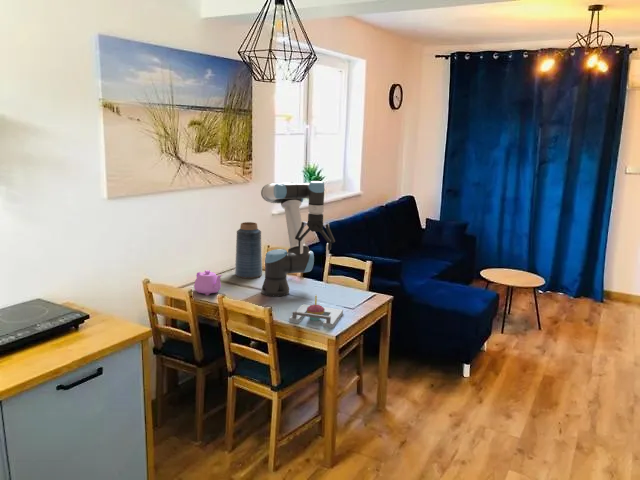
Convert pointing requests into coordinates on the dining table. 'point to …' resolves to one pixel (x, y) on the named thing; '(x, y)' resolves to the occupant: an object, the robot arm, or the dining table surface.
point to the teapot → (207, 282)
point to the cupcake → (315, 310)
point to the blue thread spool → (248, 251)
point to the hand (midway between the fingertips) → (314, 254)
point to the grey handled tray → (329, 315)
